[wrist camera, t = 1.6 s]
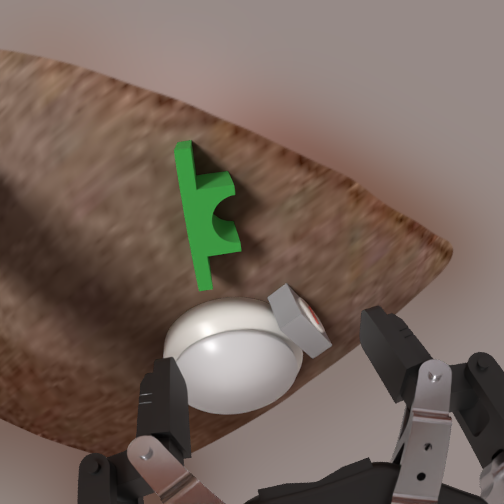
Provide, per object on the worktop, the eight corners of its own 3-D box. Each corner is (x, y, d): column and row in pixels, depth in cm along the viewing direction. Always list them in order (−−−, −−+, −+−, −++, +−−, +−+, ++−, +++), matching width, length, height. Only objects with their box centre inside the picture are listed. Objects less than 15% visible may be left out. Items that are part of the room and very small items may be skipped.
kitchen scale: (225, 403, 39) (230, 433, 34) (136, 349, 32) (132, 383, 28) (336, 332, 36) (353, 361, 31) (262, 251, 29) (275, 280, 25)
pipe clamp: (237, 257, 29) (245, 284, 25) (197, 263, 29) (199, 291, 25) (224, 134, 24) (230, 142, 20) (177, 141, 23) (173, 150, 19)
